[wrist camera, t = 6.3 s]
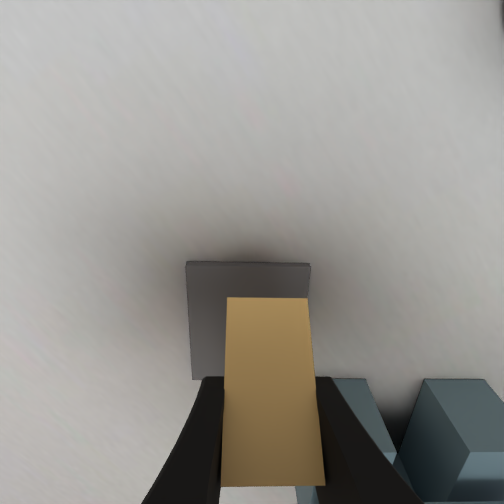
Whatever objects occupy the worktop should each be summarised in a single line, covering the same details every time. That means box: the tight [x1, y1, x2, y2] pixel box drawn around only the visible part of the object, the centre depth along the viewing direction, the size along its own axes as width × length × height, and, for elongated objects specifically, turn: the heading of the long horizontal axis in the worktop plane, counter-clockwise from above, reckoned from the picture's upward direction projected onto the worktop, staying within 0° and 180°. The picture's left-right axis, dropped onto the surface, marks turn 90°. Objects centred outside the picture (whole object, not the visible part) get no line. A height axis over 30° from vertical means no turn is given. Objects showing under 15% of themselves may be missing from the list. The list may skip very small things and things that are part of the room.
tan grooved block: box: [221, 297, 325, 487], centre depth 13 cm, size 3×9×5 cm
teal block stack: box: [295, 379, 504, 504], centre depth 19 cm, size 11×8×6 cm
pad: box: [186, 261, 311, 380], centre depth 18 cm, size 6×7×1 cm
